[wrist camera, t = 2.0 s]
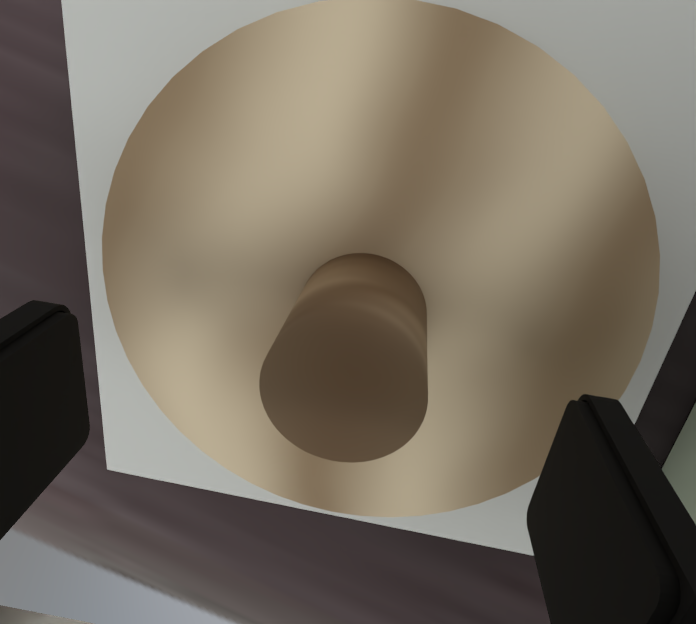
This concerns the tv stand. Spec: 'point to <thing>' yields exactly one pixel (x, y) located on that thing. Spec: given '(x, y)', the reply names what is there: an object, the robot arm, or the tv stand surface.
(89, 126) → the mat
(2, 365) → the robot arm
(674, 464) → the bowl
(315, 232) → the lid
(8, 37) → the tv stand surface
